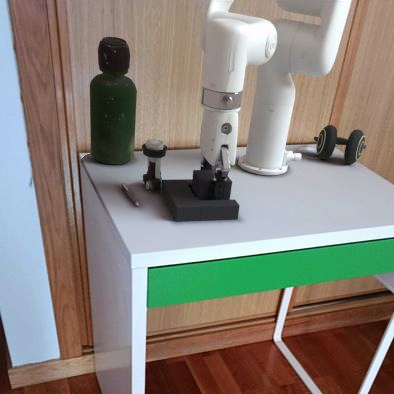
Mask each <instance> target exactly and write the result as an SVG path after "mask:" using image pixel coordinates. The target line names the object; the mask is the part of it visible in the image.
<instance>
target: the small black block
mask: <svg viewBox="0 0 394 394" xmlns="http://www.w3.org/2000/svg"><path fill="white" fill-rule="evenodd" d="M219 170H220V169H216V174H217V172H218V171H219ZM191 179H192V190H193V192H194V193H195V195H196V196H197V198H196V199H197V200H210V199H209V198H208V196H209V187H210V180H212V170H200V169H193V170H192V178H191ZM232 186H233V181H232V179H231V178H230V177H229V175H227V181H226V187H225V195H224V199H223V200H231V194H232Z"/></svg>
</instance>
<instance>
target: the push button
mask: <svg viewBox="0 0 394 394" xmlns="http://www.w3.org/2000/svg"><path fill="white" fill-rule="evenodd" d="M141 149H142V154H143V156H145V157H146V158H147V170H146V173H143V174H142V175H141V177H142V179H141V181H142V182H143V185H144V187H145V189H147V190H149V191H150V190H151V191H152V193H154V194H156V193H161V191H162V180H163V178H162V172H161V168H162V167H161V165H162V159H163V158H165V157H166V155H167V151H168V146H167V145H166V144H164V141H163V140H161V139H157V138H150V139H146V141H145V143H142V145H141Z"/></svg>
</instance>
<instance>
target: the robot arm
mask: <svg viewBox="0 0 394 394" xmlns="http://www.w3.org/2000/svg"><path fill="white" fill-rule="evenodd" d="M234 1H235V0H207V2H206V6H205V9H204V14H203V17H202V21H201V25H200V33H199V36H200V37H199V40H200V46H201V49H202V50H203V52H204V61H203V74H202V83H201V84H202V85H201V96H200V107H201V108H202V109H203V111H202V116H201V117H202V118H201V125H200V134H199V151H200V153H201V159H200V169H199V170H212V180H210V187H209V196H208V198H209V199H210V200H223V199H224V195H225V187H226V181H227V176H229V173H230V172H231V167H233V166H235V164H236V157H237V147H238V136H239V112H240V111H241V108H242V107H241V106H242V101H243V100H242V99H243V92H244V85H245V77H246V68H247V66H251V67H256V80H255V87H254V88H255V89H254V95H253V102H252V108H251V115H250V122H249V127H248V128H249V129H248V135H247V141H246V149H245V154H243V155H241V156H240V157H238V160H237V165H238V166H239V167H240V169H242V170H244V171H246V172H249V173H252V174H256V175H261V176H279V175H283V174H285V173H286V172H287V171H288V167H289V165H288V163H289V162H291V161H292V162H301V161H302V153H301V152H293V150H287V149H286V145H287V142H288V137H289V136H288V135H289V131H290V126H291V121H292V116H293V115H292V114H293V111H294V105H295V100H296V87H295V83H294V80H293V78H292V75H291V74H292V73H294V74H298V75H304V76H308V77H309V76H310V77H315V78H323V77H326V76H328V75H329V73H330V72H331V71H332V69H333V66H334V64H335V61H336V58H337V55H338V52H339V48H340V44H341V40H342V37H343V34H344V30H345V26H346V23H347V18H348V15H349V12H350V9H351V5H352V0H275V1H276V5H277V6H278V7H279V8H280V9H281V10H283V11H285V12H288V13H293V14H299V15H303V16H304V15H305V16H310V17H317V18H320V20H321V23H320V24H317V23H310V22H305V21H301V20H295V19H288V18H273V19H270V20H268V19H265V18H262V17H257V16H252V15H246V14H242V13H235V12H230V8H231V6H232V4H233V2H234ZM216 162H220V163H216ZM218 168H219V169H218ZM217 169H218V170H219V171H218V172H217V174H216V170H217Z"/></svg>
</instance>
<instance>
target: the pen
mask: <svg viewBox="0 0 394 394" xmlns="http://www.w3.org/2000/svg"><path fill="white" fill-rule="evenodd" d="M120 187H121V188H122V190H123V191H124V192H125V194H126V195H127V196H128V197H129V199H130V200H131V201H132V202H133V203H134V204H135V205H136V206H137V207H139V206H140V204H139V201H138V200H137V199H136V198H135V197H134V195H133V194H132V193H131V192H130V190H129V188H128V187H127V185H125V184H124V182H122V183H120Z"/></svg>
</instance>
